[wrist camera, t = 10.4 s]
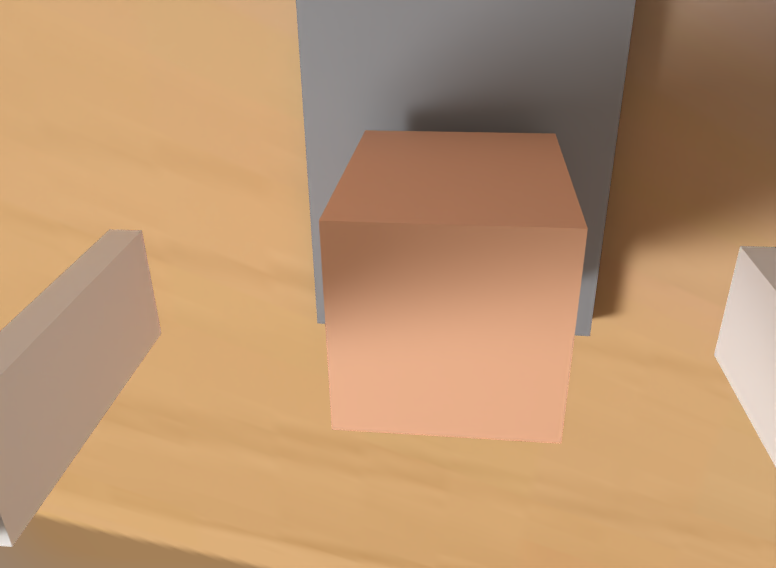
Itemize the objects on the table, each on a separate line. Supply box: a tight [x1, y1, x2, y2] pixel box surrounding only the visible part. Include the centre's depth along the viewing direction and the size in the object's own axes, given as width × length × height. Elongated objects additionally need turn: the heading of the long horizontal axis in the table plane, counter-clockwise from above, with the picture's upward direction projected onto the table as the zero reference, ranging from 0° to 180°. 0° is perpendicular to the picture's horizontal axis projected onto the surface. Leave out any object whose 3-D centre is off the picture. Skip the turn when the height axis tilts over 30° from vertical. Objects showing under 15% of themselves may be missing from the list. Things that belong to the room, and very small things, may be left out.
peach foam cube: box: [319, 130, 588, 444], centre depth 18 cm, size 5×5×7 cm
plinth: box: [296, 0, 636, 336], centre depth 22 cm, size 9×11×1 cm
